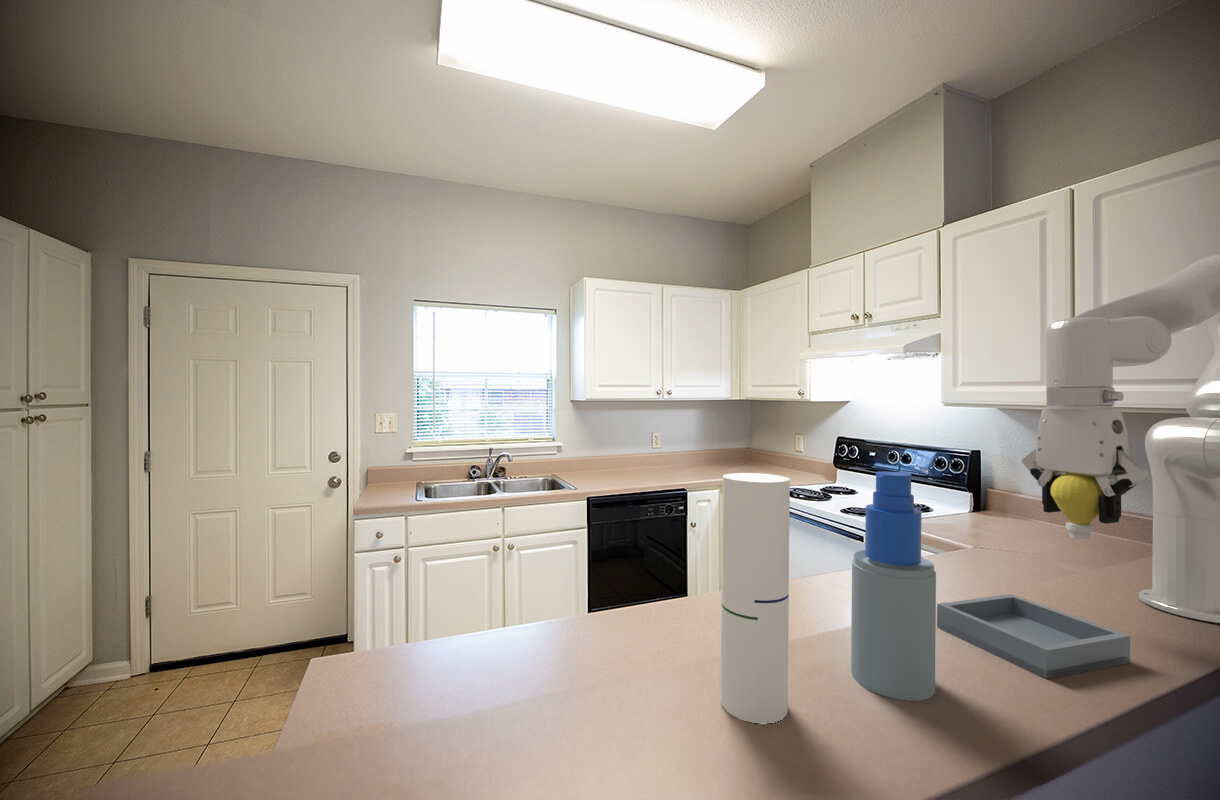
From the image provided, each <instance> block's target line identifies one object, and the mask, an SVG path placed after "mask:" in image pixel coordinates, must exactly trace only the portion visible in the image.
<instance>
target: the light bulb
mask: <svg viewBox="0 0 1220 800" xmlns="http://www.w3.org/2000/svg"><path fill="white" fill-rule="evenodd" d="M1100 495H1104V493H1103V491H1102V489H1101V487H1100V485H1099V484H1098V482H1097V480H1096V478H1095V476H1086V475H1078V474H1069V473H1064V474H1063V475H1061V476H1059V477H1058V478H1057V479H1055V481H1054V482H1053V484H1052V486H1051V496H1052V497H1053V499H1054V501H1055V502H1056V504H1057V506H1058V507H1059V509H1060V510H1061V511H1060V512H1062V514H1063V515H1064V516H1065V517H1066V518H1067V521H1066V522H1065V529H1066V530H1069V532H1068V533H1069V537H1070V538H1072V539H1079V540H1091V533H1094V532H1095V525H1094V524H1091V523H1092V522H1093V521H1094V520H1095V519H1096V518H1097V517H1099V496H1100Z"/></svg>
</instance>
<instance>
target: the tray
mask: <svg viewBox="0 0 1220 800" xmlns="http://www.w3.org/2000/svg"><path fill="white" fill-rule="evenodd" d="M936 615H937V616H936V627H937V629H940V630H942V631H945V632H946V633H949V634H951V635H952V636H955V637H957V638H959V639H961V640H963V641H965V642H967V643H970V644H972V645H974V646H976V647H978V648H980V649H982V650H984V651H986V652H989V653H991V654H993V655H995V656H997V657H999V658H1001V659H1003V660H1005V661H1008V662H1010V663H1011V664H1013V665H1015V666H1018V667H1020V668H1022V669H1023V670H1027V671H1029V672H1030V673H1033V674H1035V675H1037V676H1039V677H1041V678H1043V679H1046V680H1051V679H1055V678H1060V677H1065V676H1066V677H1067V676H1070V675H1074V674H1082V673H1085V672H1090V671H1091V672H1092V671H1095V670H1101V669H1106V668H1110V667H1111V668H1112V667H1115V666H1121V665H1126V664H1131V661H1130V660H1131V635H1129V634H1125V633H1123V632H1120V631H1117V630H1114V629H1112V628H1109V627H1105V626H1104V625H1100V624H1097V623H1094V622H1091V621H1088V620H1086V619H1083V618H1079V617H1077V616H1075V615H1072V614H1068V613H1065V612H1063V611H1060V610H1057V609H1055V608H1051V607H1049V606H1046V605H1043V604H1040V603H1037V602H1034V601H1031V600H1028V599H1025V598H1023V597H1020V596H1017V595H1014V594H1005V595H996V596H989V597H988V596H987V597H980V598H972V599H963V600H956V601H950V602H941V603H936Z"/></svg>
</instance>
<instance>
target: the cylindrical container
mask: <svg viewBox="0 0 1220 800" xmlns="http://www.w3.org/2000/svg"><path fill="white" fill-rule="evenodd" d="M721 483H722V489H721V490H722V500H721V502H722V503H721V504H722V506H721V507H722V508H721V511H722V512H721V576H720V577H721V584H720V586H721V590H720V591H721V592H720V593H721V595H720V596H721V599H720V602H721V604H720V607H721V608H720V676H719V677H720V679H719V680H720V681H719V682H720V683H719V688H720V692H719V693H720V694H719V695H720V696H719V697H720V698H719V701H721V702H720V704H722V705H721V707H722V706H723V707H724V708H725V709H726V710H727V711H728V712H730V713H731V714H733V715H734V716H736V717H738V718H740V719H743V720H746V721H749V722H753V723H764V724H763V725H766V724H765V723H773V724H776V723H778V722H777V721H779V722H781V721H782V720H784V719H785V718H786V717H787V715H788V709H789V708H788V695H789V693H788V692H789V690H788V689H789V688H788V687H789V679H788V678H789V608H790V607H789V601H790V600H789V599H790V597H789V596H790V595H789V589H790V584H789V583H790V580H789V579H790V504H791V502H790V500H791V499H790V495H791V494H790V493H791V491H790V490H791V489H790V488H791V487H790V486H791V484H790V483H791V478H790V477H787V476H785V475H784V476H783V475H778V474H771V473H759V472H758V473H757V472H734V473H733V472H732V473H726V474H723V475H722V482H721ZM723 707H722V708H723ZM724 708H723V709H724ZM725 709H724V710H725ZM727 711H726V712H727ZM728 712H727V713H728ZM785 716H786V717H785ZM784 717H785V718H784ZM783 718H784V719H783ZM740 719H739V720H740ZM780 720H781V721H780ZM775 722H776V723H775ZM753 723H752V724H753Z"/></svg>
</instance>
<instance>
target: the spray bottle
mask: <svg viewBox="0 0 1220 800" xmlns="http://www.w3.org/2000/svg"><path fill="white" fill-rule="evenodd" d="M914 506H915V496H914V495H913V494H912V474H911V472H907V471H906V472H905V471H876V472H875V491H872V504H871V503H870V504H867V505H866V506H865V537H864V538H865V543H864V544H865V546H864V547H865V549H864V550H858V551H856V552H854V554H853V560H852V561H851V623H850V624H851V626H850V627H851V630H850V633H851V635H850V636H851V637H850V638H851V639H850V640H851V641H850V642H851V645H850V646H851V647H850V650H851V651H850V673H851V674H852V675H851V676H852V677H853V679H854V680H855V681H856V682H857V683H858V684H859V685H860V686H862V687H863V688H865V689H867V690H869V691H871V692H874V693H876V694H878V695H881V696H883V697H887V698H891V699H895V700H899V701H907V702H919V701H925V700H928V699H931V698H933V696H934V695H935V694H936V634H937V633H936V627H937V616H936V615H937V572H936V571H935V564H934V563H933V562H932V561H930V560H929V559H926V558H923V557H922V510H920V509H918V508H915V507H914Z"/></svg>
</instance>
